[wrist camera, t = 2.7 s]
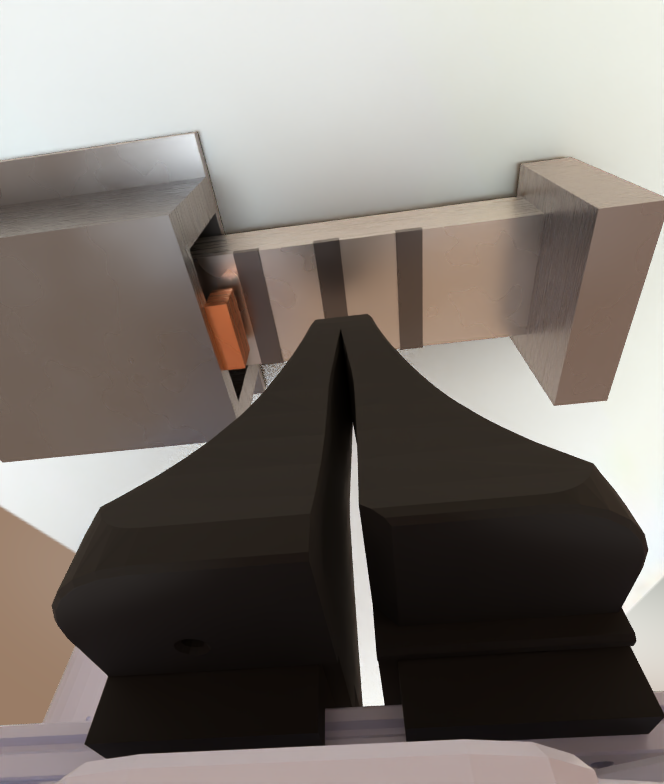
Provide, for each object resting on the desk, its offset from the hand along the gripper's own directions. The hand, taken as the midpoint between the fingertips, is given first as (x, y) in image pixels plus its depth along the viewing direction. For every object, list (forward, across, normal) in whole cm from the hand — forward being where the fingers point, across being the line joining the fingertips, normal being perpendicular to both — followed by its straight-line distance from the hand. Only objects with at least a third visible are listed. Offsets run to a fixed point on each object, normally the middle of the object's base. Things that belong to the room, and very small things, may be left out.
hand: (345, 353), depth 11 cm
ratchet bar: (+5, +3, 0) cm, 6 cm away
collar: (+5, +8, 0) cm, 9 cm away
